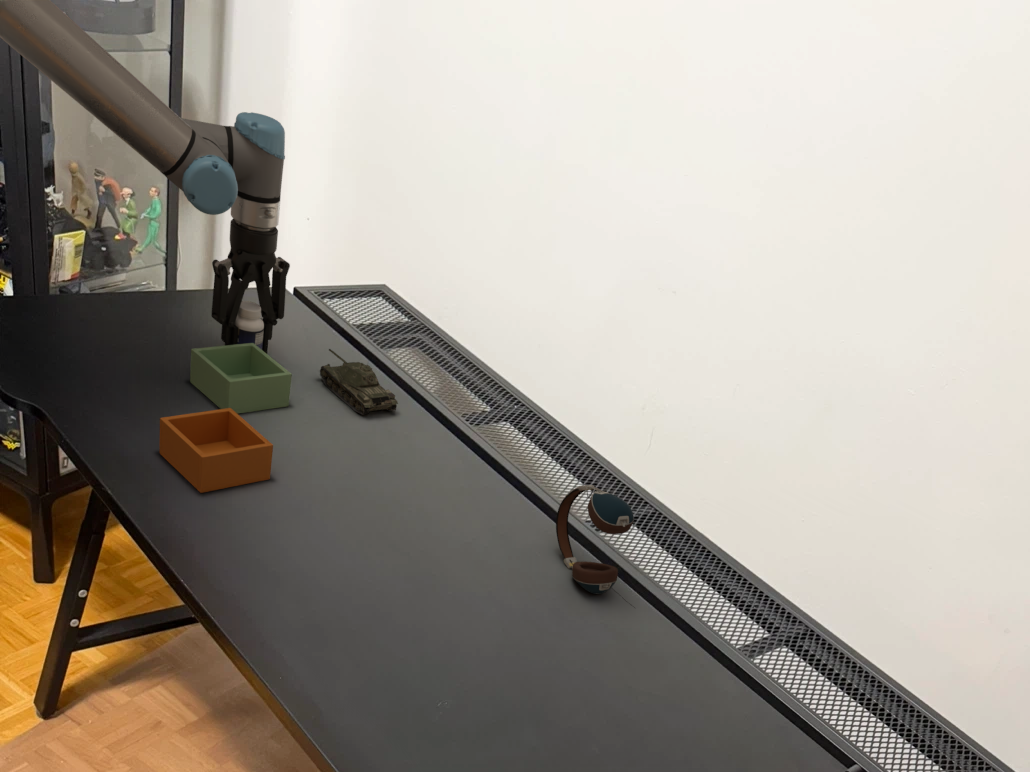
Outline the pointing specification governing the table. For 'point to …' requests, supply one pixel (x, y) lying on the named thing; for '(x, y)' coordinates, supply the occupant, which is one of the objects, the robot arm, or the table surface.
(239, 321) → the pill bottle
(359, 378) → the toy tank
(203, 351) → the green bin
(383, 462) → the table surface
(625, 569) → the table surface
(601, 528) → the headphones
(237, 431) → the amber bin
